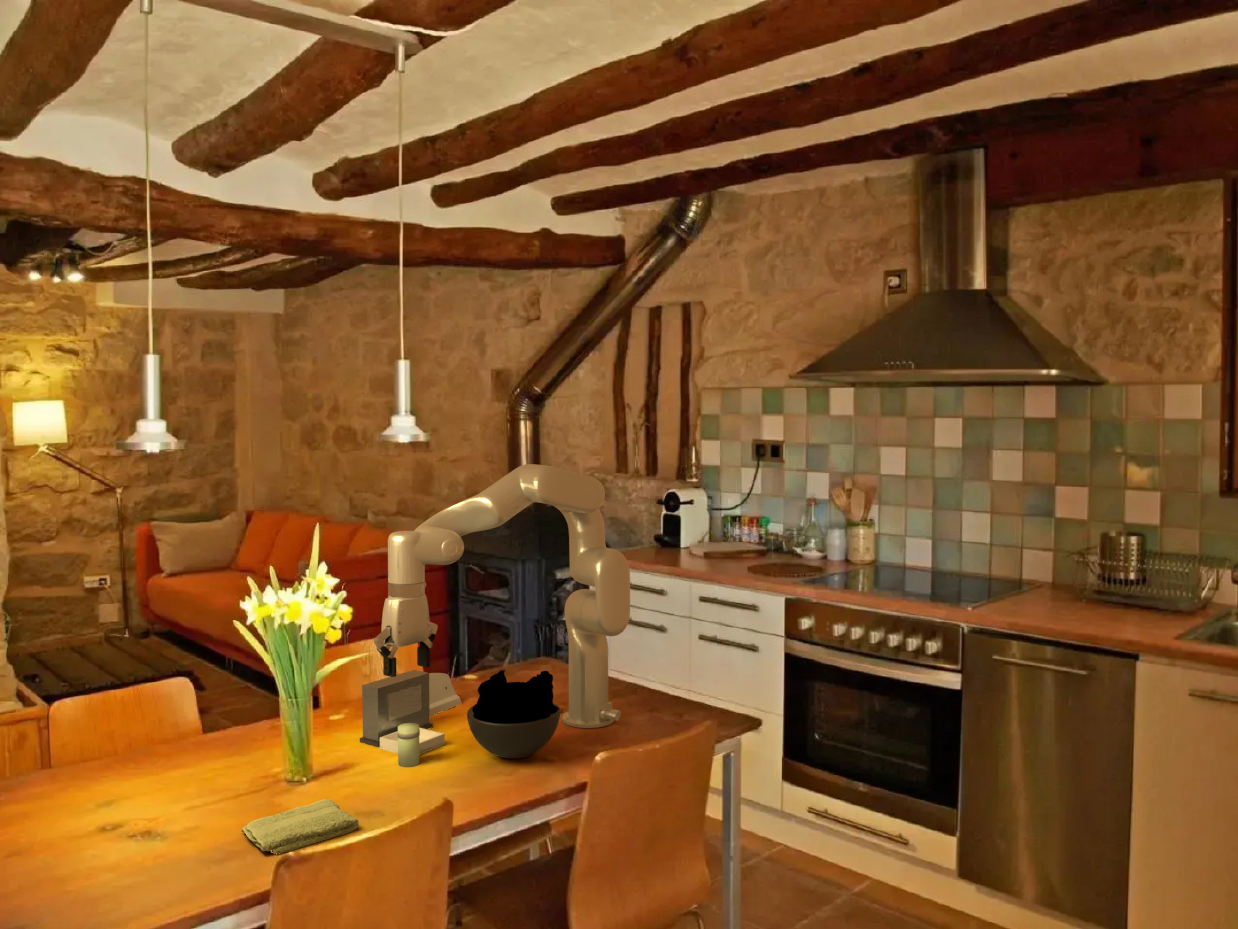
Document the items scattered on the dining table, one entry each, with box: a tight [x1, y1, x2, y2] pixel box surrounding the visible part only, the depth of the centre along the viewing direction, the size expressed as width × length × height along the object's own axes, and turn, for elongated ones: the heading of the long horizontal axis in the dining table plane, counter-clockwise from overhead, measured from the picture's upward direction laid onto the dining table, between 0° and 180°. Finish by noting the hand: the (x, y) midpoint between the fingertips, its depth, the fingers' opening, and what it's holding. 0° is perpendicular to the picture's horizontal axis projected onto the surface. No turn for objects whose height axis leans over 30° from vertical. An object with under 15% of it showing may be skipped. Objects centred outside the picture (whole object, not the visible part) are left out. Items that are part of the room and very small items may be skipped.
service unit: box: [359, 669, 434, 748], centre depth 236 cm, size 6×17×13 cm, turn 146°
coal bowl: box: [466, 669, 561, 759], centre depth 221 cm, size 20×20×19 cm
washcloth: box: [241, 798, 359, 856], centre depth 182 cm, size 13×18×3 cm
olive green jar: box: [397, 723, 420, 768], centre depth 217 cm, size 5×5×8 cm
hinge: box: [429, 672, 463, 717], centre depth 255 cm, size 17×5×10 cm, turn 149°
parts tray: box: [379, 728, 446, 755], centre depth 228 cm, size 10×10×2 cm
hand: (407, 671), depth 216 cm, fingers open, 9 cm apart
